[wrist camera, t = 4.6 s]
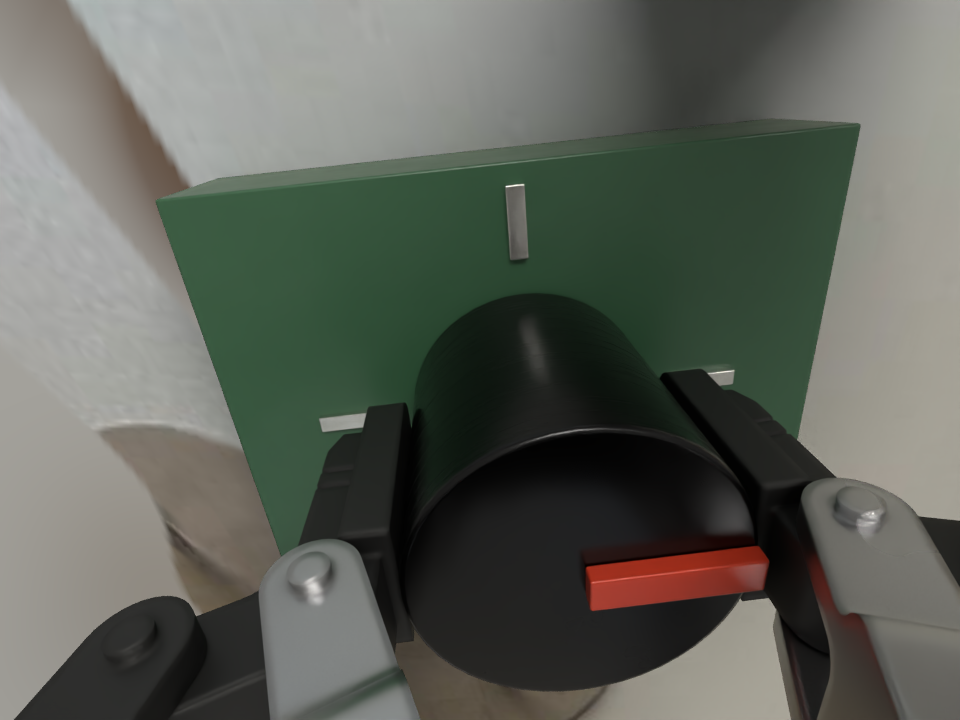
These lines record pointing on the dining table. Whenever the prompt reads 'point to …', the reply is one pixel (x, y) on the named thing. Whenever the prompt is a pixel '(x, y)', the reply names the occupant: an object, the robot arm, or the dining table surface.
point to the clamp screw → (563, 504)
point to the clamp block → (506, 271)
